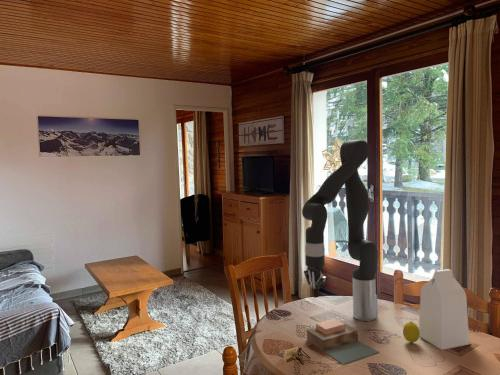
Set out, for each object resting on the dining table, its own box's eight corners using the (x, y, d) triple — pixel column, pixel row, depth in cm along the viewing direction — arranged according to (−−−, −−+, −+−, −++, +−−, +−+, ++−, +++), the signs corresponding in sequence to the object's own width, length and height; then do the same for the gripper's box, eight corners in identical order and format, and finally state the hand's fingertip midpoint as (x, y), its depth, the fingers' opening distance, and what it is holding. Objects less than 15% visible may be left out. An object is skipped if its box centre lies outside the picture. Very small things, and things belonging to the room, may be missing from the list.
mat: (359, 341, 141) (359, 340, 141) (379, 352, 132) (379, 351, 132) (324, 351, 134) (324, 350, 134) (342, 364, 125) (342, 363, 125)
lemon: (418, 340, 140) (418, 319, 139) (420, 347, 135) (420, 325, 134) (402, 338, 142) (402, 317, 141) (403, 345, 136) (403, 323, 136)
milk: (441, 349, 133) (441, 276, 131) (418, 335, 144) (418, 268, 142) (469, 344, 136) (469, 272, 134) (444, 330, 147) (444, 264, 145)
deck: (340, 330, 150) (340, 320, 150) (358, 340, 141) (358, 330, 141) (307, 340, 143) (306, 329, 143) (323, 351, 134) (323, 340, 134)
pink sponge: (335, 323, 148) (334, 318, 148) (345, 329, 142) (345, 324, 142) (316, 328, 144) (315, 323, 144) (325, 334, 138) (325, 329, 138)
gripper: (333, 255, 145) (333, 300, 146) (312, 249, 157) (313, 290, 158) (317, 258, 142) (317, 303, 143) (297, 251, 154) (298, 293, 155)
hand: (315, 296), depth 150 cm, fingers closed
